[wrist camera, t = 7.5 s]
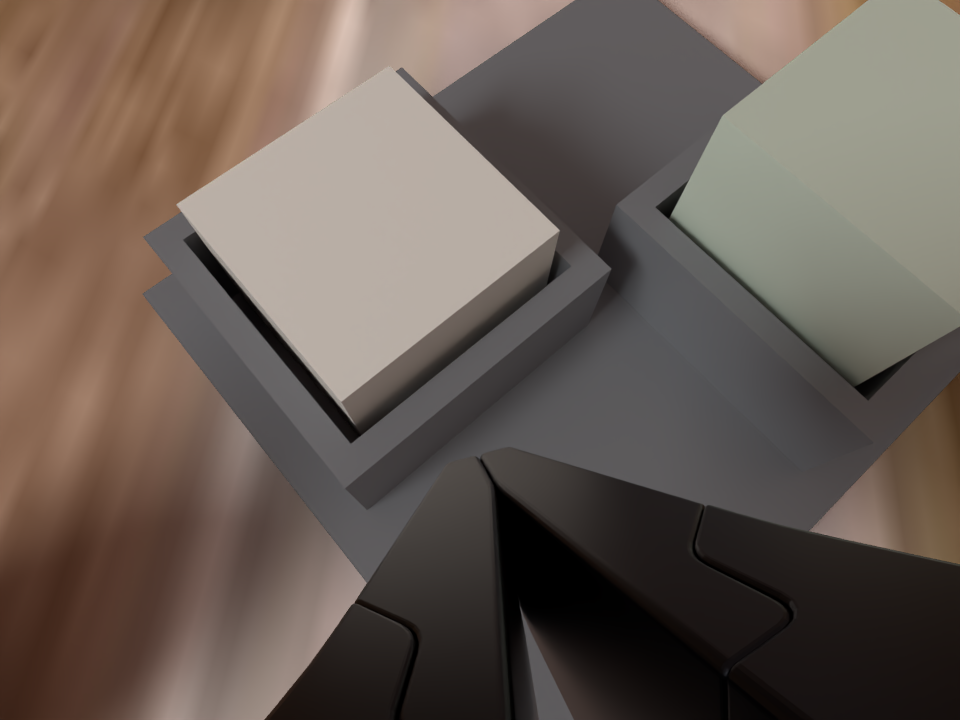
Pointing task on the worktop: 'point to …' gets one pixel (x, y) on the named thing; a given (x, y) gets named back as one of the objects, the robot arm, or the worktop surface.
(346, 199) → the cream block with holes
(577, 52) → the board
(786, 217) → the grey-green block
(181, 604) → the worktop surface
